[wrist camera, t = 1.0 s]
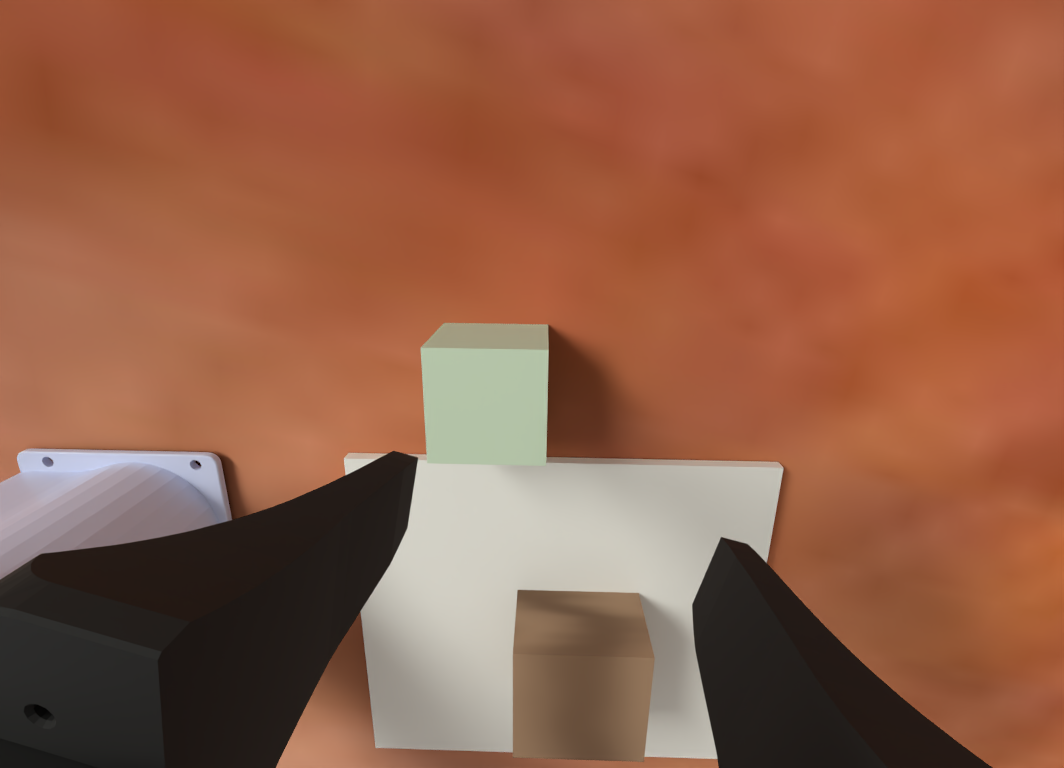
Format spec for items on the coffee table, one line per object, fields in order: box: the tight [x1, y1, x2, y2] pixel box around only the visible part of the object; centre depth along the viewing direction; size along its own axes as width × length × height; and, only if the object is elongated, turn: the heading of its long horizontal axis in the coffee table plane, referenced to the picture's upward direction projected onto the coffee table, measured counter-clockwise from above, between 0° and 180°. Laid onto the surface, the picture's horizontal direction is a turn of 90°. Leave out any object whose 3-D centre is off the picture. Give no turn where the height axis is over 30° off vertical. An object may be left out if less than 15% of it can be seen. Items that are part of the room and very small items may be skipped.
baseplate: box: [344, 453, 784, 759], centre depth 27 cm, size 20×18×1 cm
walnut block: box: [513, 590, 655, 762], centre depth 25 cm, size 6×6×4 cm
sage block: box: [421, 323, 549, 466], centre depth 21 cm, size 4×4×4 cm
